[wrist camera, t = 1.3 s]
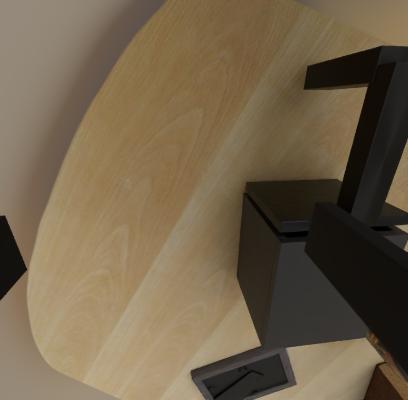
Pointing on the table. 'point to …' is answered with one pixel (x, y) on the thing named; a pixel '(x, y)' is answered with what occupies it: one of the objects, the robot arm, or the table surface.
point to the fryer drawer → (361, 148)
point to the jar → (387, 357)
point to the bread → (386, 385)
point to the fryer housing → (292, 286)
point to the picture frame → (245, 375)
